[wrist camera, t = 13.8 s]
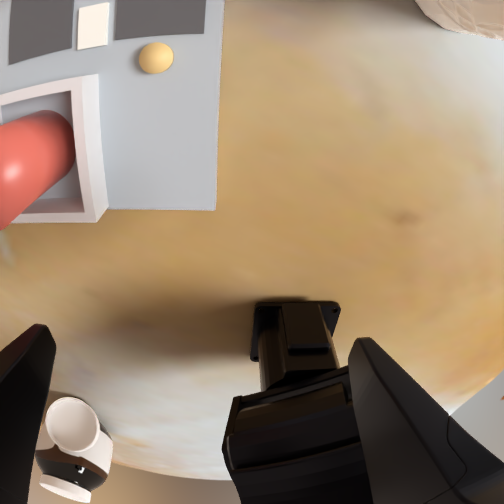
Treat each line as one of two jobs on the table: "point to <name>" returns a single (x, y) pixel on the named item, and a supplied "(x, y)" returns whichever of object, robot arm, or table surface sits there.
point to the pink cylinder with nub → (32, 159)
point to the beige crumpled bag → (467, 16)
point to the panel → (119, 99)
